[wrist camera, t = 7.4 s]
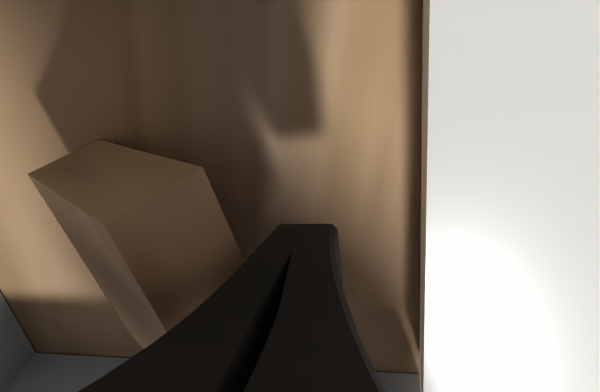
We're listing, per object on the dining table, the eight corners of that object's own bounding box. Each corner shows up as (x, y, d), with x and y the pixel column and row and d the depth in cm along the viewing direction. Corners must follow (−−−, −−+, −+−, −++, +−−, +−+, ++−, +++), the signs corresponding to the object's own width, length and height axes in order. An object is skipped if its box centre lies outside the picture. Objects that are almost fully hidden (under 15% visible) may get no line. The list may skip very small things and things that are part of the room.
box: (418, 402, 16) (424, 490, 14) (19, 375, 20) (-36, 443, 17) (425, -226, 8) (441, -291, 6) (-269, -89, 11) (-457, -92, 9)
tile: (297, 383, 11) (234, 446, 10) (184, 299, 16) (132, 337, 15) (203, 167, 9) (103, 224, 8) (98, 139, 13) (28, 174, 12)
